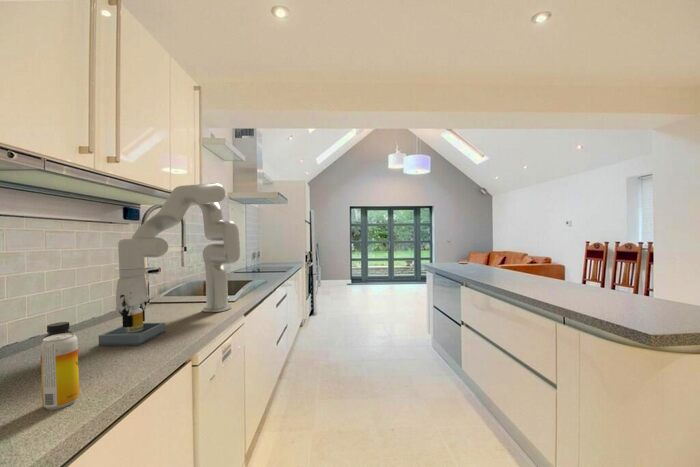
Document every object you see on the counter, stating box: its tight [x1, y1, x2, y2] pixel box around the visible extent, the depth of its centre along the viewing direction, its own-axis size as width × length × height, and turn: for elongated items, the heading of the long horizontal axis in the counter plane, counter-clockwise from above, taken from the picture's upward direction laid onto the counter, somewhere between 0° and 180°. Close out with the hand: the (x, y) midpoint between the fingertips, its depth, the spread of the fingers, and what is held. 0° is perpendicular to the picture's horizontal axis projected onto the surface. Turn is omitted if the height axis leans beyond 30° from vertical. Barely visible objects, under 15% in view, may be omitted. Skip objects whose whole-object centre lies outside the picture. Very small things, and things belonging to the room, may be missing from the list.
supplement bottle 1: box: [41, 321, 74, 343], centre depth 92 cm, size 7×7×12 cm
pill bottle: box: [39, 332, 80, 411], centre depth 71 cm, size 6×6×15 cm
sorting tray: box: [98, 322, 166, 347], centre depth 113 cm, size 14×14×4 cm
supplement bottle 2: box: [125, 304, 144, 333], centre depth 113 cm, size 5×5×10 cm
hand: (134, 323), depth 114 cm, fingers closed on supplement bottle 2, 5 cm apart
